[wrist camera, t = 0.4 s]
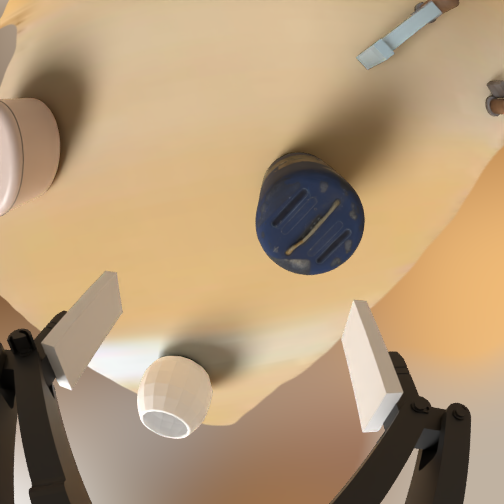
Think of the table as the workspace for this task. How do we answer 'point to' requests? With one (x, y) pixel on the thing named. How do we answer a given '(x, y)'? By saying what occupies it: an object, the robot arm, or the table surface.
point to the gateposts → (498, 88)
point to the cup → (174, 396)
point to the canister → (308, 215)
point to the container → (26, 151)
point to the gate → (398, 35)
